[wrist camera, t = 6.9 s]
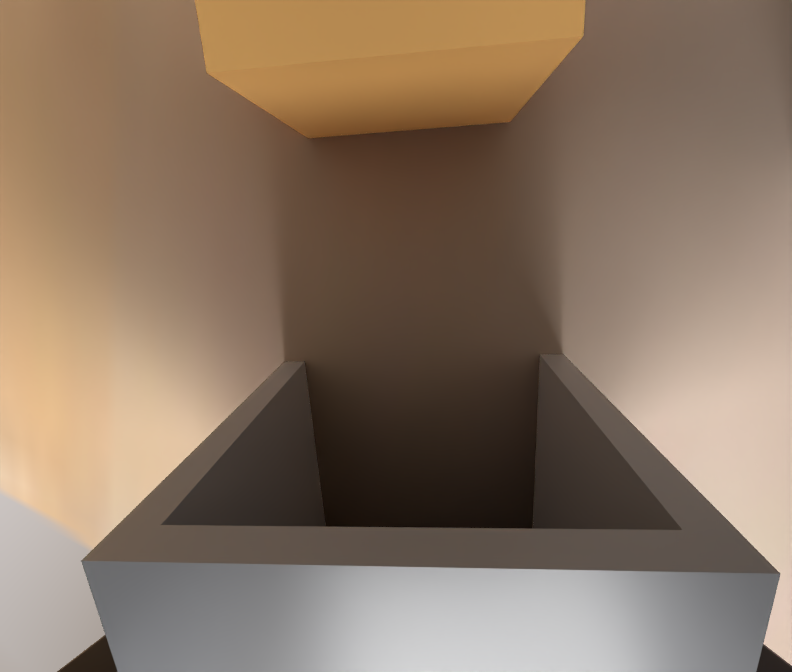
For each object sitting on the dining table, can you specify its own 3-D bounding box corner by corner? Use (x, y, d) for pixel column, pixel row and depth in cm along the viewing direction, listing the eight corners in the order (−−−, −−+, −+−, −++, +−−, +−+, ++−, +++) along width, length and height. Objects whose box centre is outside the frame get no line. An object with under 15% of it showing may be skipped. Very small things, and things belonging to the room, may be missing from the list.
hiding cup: (548, 578, 11) (680, 978, 5) (315, 574, 12) (201, 928, 6) (561, 352, 9) (780, 573, 3) (286, 360, 10) (81, 561, 4)
